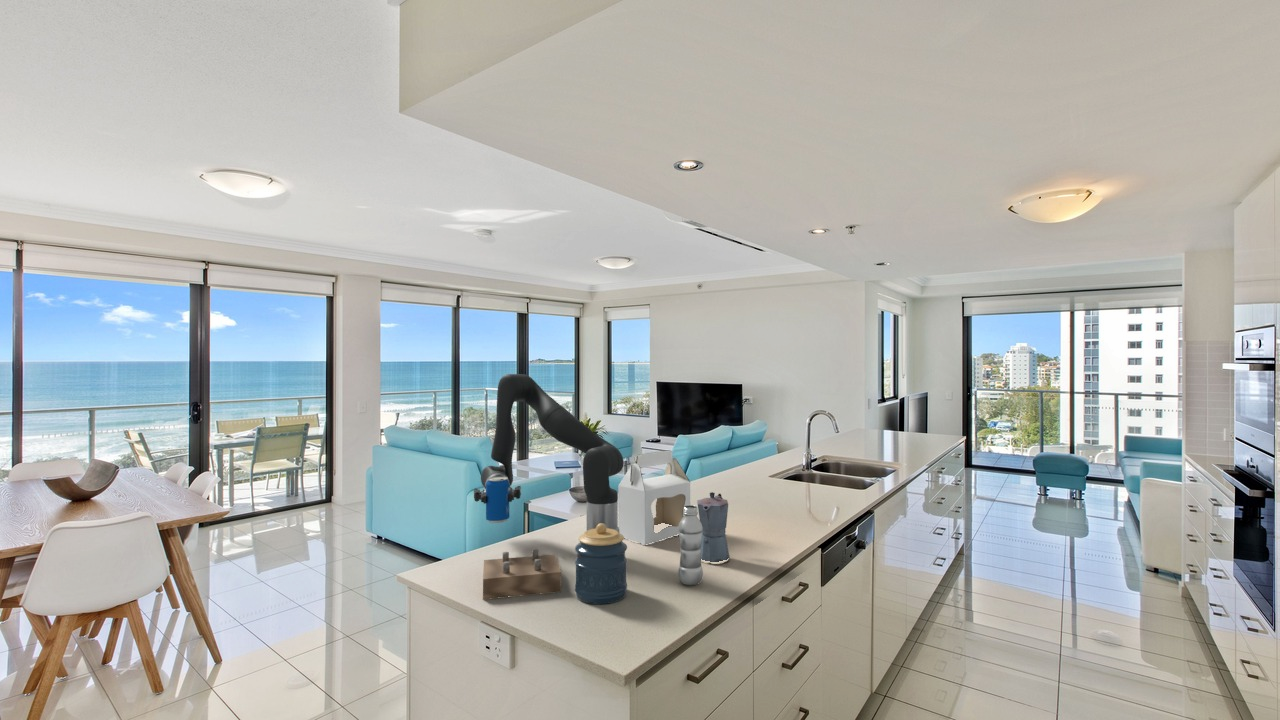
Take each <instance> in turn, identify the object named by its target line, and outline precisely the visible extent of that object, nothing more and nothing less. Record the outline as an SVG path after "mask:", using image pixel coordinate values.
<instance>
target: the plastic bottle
mask: <svg viewBox="0 0 1280 720" xmlns="http://www.w3.org/2000/svg"><path fill="white" fill-rule="evenodd" d="M683 514H684V517H683V518H682V520H681V522H680V523H679V527H678V528H679V536H678V537H679V543H680V545H679V546H680V558H679V565H678V566H679V567H678V571H677V572H678V574H677V575H678V579H679V581H680V583H681V584H684V585H686V586H696V585H695V584H697V585H699V584H701V582H702V580H703V577H704V572H703V571H704V570H703V566H702V565H703V564H702V562H701V554H700V552H701V549H700V548H701V538H702V529H703V527H702V524H701V522H700V519H699V516H697V515H699V511H698V505H693V504H692V505H691V504H690V505H687V506H684V512H683ZM698 583H699V584H698Z"/></svg>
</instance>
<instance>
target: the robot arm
mask: <svg viewBox="0 0 1280 720" xmlns="http://www.w3.org/2000/svg"><path fill="white" fill-rule="evenodd" d="M497 384H498V385H497V390H496V391H497V393H496V415H495V417H496V421H495V422H496V423H495V432H494V433H495V434H494V436H493V441H492V442H493V443H492V448H491V454H490V458H491V459H492V460H493V461H495V462H497V463H499V464H501V465H502V466H495V465H487V466H485V467H484V468H483V470H482V471H481V475H480V482H481V485H482V486H483V490H480V489H478V488H474V489H473V500H474V501H475V502H481V503H483V505H486V482H487V481H488V480H487V479H488V478H491V477H507V478H508V479H507V480H508V481H509V503H512V502H513V501H514V500H515V499H517V500H519V499H520V498H521V496H522V486H521V485H517V486H515V488H512V487H511V486H512V484H513V482H514V474H513V453H514V451H515V450H514V449H515V446H516V445H515V444H516V440H517V439H516V430H515V427H514V424H513V418H512V410H513V407H514V403H516V402H517V403H518V402H519V403H520V402H521V403H525V404H526V405H528V406H529V407H531V409H532V410H534V411H535V412H536V414H537V420H538V422H539V424H540V426H541V428H542V429H543V430H544V431H545V432H546V433H548V434H549V435H550V436H551V437H552V438H554V439H555V440H556V441H558V442H559V443H562V444H565V445H566V446H569V447H571V448H574V449H576V450H578V451H580V452H582V453H583V454H584V456H583V461H582V476H583V479H582V481H583V489H584V493H585V496H586V531H587V530H590V529H596V526H597V525H598V524H599V523H603V524H605V525H606V528H609V529H614V530H616V531H618V533H619V527H618V491H617V490H616V489H614V488H611V485H610V477H613V476H615V475H617V474H619V473H620V472H621V471H622V470H623V469H624V464H625V462H624V457H623V454H622V452H621V451H620V450H619V449H618V448H617V447H616V446H614V445H613V444H611V443H610V442H608V441H607V440H606V439H604V438H603V437H601V436H600V435H598V434H596V433H595V432H593V431H592V430H591V429H590V428H589V427H588V426H587V425H585V423H583V422H581V421H580V420H579V419H578V418H577V417H576V416H575V415H573V413H571V412H570V411H569V410H568V409H566V408H565V407H564V406H562V405H561V404H560V403H558V402H557V401H556V400H555V399H554V398H552V396H550V395H549V394H548V393H546V392H545V390H543V389H542V387H541V386H540V385H539V384H538V383H537V382H536V381H535V380H534V379H533V378H532V377H531V376H529V375H527V374H523V373H521V374H520V373H508V374H504V375H502V376H501V378H500V379H499V381H498V383H497ZM503 466H504V467H503Z"/></svg>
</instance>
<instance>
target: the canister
mask: <svg viewBox="0 0 1280 720" xmlns="http://www.w3.org/2000/svg"><path fill="white" fill-rule="evenodd" d="M624 540H625V539H624V536H623V535H622V534H620V533H618V531H616V530H614V529H609V528H606V525H605V524H603V523H599V524H598V525H597V526H596V529H590V530H587V529H586V530H585V531H584V533H582V534H580V535H579V536H578V541H579V543H577V544H576V545H575V548H574V549H575V551H576V553H577V554H576V558H575V560H574V562H575V585H574V591H575V596H576V598H577V599H578V600H579V601H582V602H583V603H587V604H593V605H594V604H595V605H605V604H606V605H607V604H612V603H616V602H619V601H621V600H622V599H624V598H625V597H626V595H627V590H628V583H627V562H628V558H627V557H626V551H627V550H628V546H627V544H626V543H625V542H624Z"/></svg>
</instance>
